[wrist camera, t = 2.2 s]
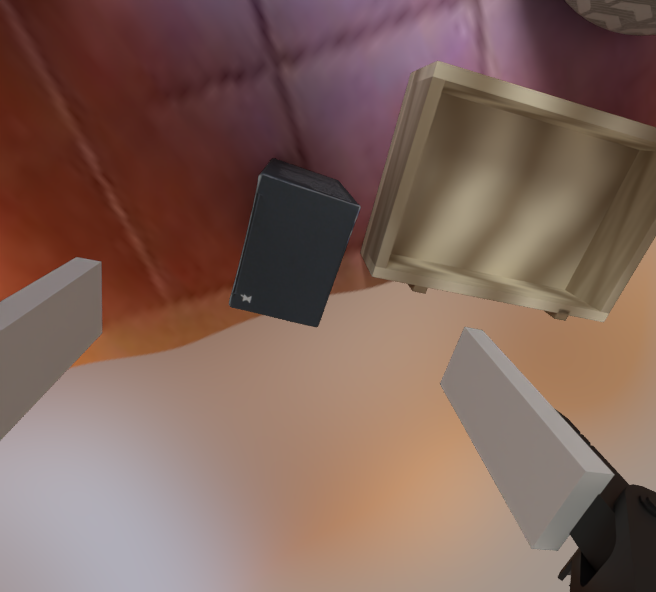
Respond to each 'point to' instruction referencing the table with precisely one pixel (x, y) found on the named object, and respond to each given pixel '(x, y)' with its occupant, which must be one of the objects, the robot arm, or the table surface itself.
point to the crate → (512, 196)
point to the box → (293, 244)
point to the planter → (619, 15)
